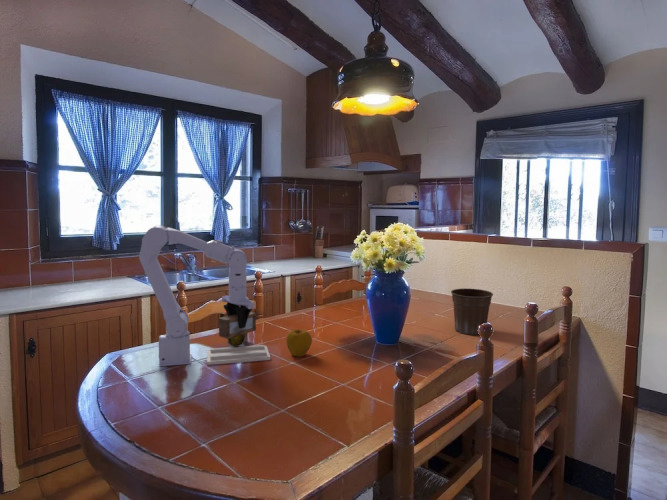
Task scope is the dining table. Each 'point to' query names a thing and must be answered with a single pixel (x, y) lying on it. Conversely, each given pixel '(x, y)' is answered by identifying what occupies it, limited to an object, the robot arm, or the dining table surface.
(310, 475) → the dining table surface
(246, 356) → the notch ledge
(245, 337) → the condiment
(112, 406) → the dining table surface
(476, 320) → the plant pot
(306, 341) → the apple
